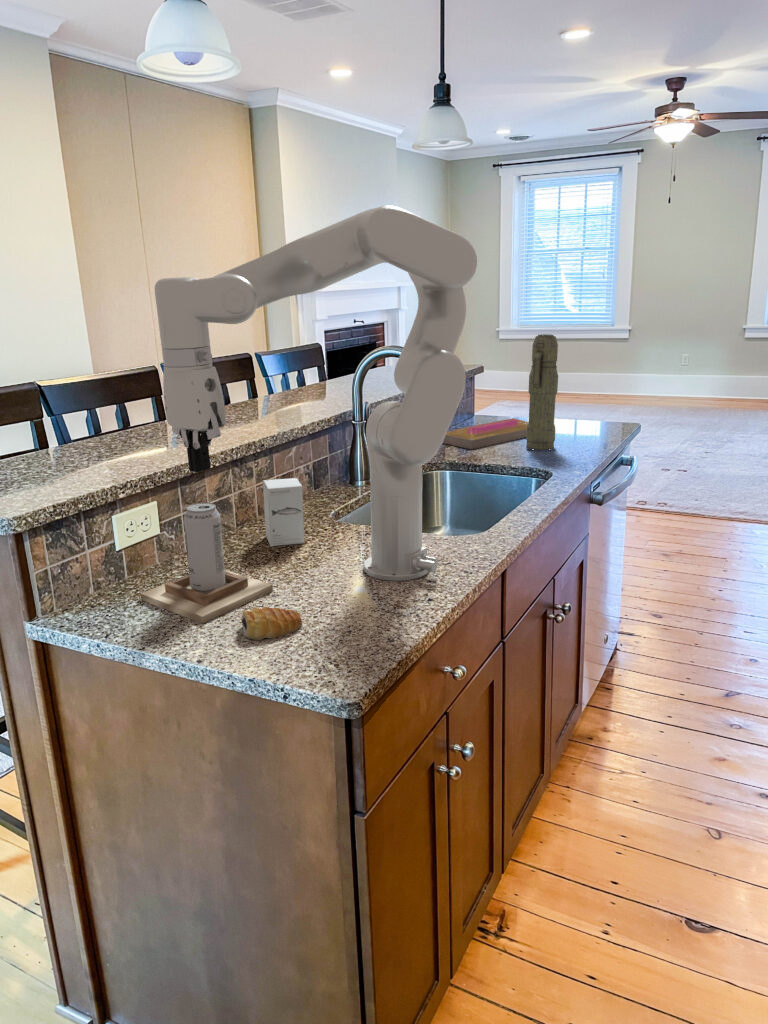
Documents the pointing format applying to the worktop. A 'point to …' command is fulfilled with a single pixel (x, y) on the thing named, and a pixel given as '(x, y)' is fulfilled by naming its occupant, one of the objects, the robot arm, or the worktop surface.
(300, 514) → the supplement box
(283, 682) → the worktop surface
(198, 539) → the energy drink can
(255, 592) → the board
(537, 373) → the olive stone tall figure
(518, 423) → the pink-striped tan slab
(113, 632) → the worktop surface
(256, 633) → the pastry
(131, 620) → the worktop surface
